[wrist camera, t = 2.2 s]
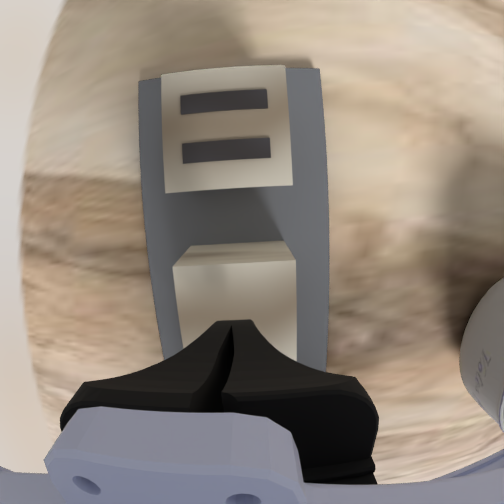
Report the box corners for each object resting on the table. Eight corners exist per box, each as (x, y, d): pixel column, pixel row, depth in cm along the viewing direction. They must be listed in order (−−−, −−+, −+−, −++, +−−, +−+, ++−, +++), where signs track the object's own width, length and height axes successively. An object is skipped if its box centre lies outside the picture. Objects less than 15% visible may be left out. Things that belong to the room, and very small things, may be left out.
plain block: (285, 326, 19) (296, 366, 14) (199, 330, 19) (187, 371, 14) (283, 240, 17) (295, 259, 13) (190, 245, 17) (172, 266, 13)
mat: (318, 430, 21) (320, 436, 20) (184, 435, 21) (183, 442, 20) (316, 73, 16) (319, 68, 16) (142, 85, 16) (138, 81, 15)
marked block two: (281, 184, 17) (293, 185, 12) (186, 190, 17) (164, 193, 12) (275, 93, 16) (285, 64, 11) (182, 100, 16) (160, 73, 11)
